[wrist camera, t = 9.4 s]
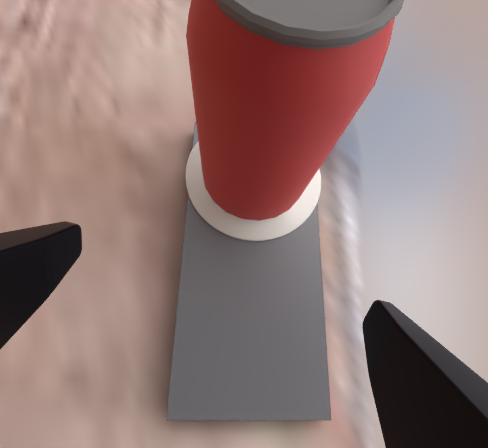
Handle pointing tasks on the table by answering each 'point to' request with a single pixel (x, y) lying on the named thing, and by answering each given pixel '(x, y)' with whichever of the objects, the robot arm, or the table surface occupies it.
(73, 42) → the table surface
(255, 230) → the charging dock
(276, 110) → the beer can
